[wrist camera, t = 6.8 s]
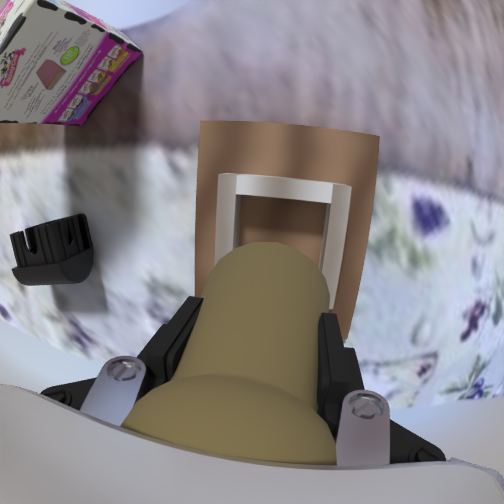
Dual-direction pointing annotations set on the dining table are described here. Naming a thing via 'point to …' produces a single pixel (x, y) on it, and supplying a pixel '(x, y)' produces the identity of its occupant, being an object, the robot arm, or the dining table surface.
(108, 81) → the candy bar box
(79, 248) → the end cap
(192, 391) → the cork
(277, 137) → the socket board
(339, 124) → the dining table surface
